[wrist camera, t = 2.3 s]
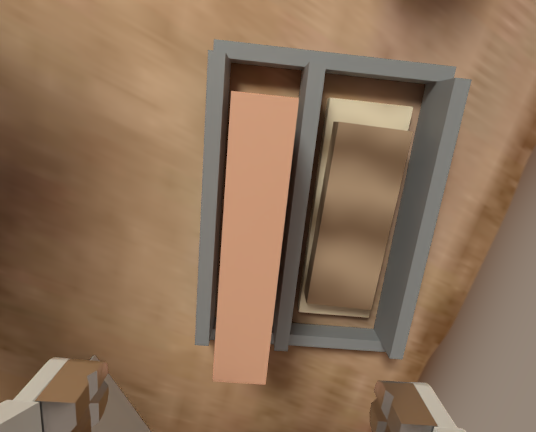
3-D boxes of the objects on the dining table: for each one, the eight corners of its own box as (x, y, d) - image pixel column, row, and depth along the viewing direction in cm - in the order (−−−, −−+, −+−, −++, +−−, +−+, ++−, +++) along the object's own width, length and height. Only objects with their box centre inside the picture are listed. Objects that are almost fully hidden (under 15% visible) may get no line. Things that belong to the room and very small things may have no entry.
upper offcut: (333, 121, 28) (338, 121, 26) (402, 130, 28) (413, 131, 26) (303, 292, 32) (306, 303, 30) (364, 298, 33) (371, 309, 31)
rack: (217, 44, 27) (209, 30, 23) (442, 70, 28) (476, 61, 24) (202, 326, 34) (194, 356, 30) (382, 339, 35) (399, 370, 31)
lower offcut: (325, 99, 29) (330, 97, 28) (403, 107, 30) (413, 106, 28) (296, 301, 35) (298, 311, 33) (362, 306, 35) (368, 317, 33)
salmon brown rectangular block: (242, 102, 29) (231, 90, 17) (283, 106, 29) (299, 98, 17) (228, 291, 34) (212, 381, 22) (263, 293, 34) (265, 384, 22)
